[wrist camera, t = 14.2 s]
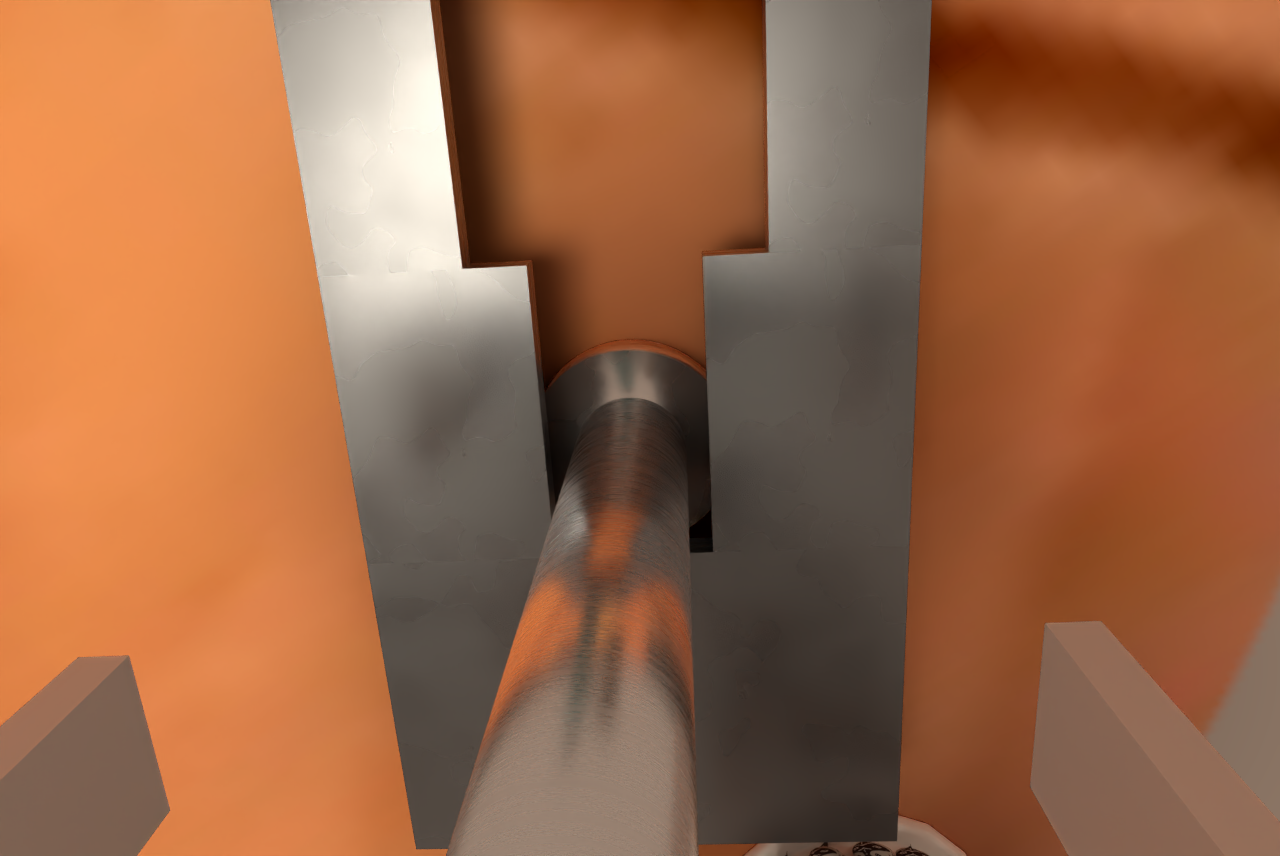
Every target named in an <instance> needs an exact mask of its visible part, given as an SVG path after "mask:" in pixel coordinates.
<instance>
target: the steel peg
mask: <svg viewBox="0 0 1280 856" xmlns="http://www.w3.org/2000/svg"><path fill="white" fill-rule="evenodd" d="M545 401H546V412H547V422H548V433H549V443H550V453H551V464H552V474H553V485H554V495H555V506H556V508H555V511H554V514H553V517H552V520H551V523H550V527H549V530H548V533H547V536H546V539H545V543H544V546H543V549H542V552H541V555H540V558H539V562H538V565H537V568H536V571H535V574H534V578H533V581H532V584H531V587H530V590H529V593H528V597H527V600H526V603H525V606H524V609H523V612H522V616H521V619H520V622H519V625H518V628H517V632H516V635H515V638H514V641H513V644H512V647H511V651H510V654H509V657H508V660H507V663H506V667H505V670H504V673H503V676H502V679H501V682H500V686H499V689H498V692H497V695H496V698H495V701H494V705H493V708H492V711H491V714H490V717H489V721H488V724H487V727H486V730H485V733H484V736H483V740H482V743H481V746H480V749H479V752H478V756H477V759H476V762H475V765H474V768H473V771H472V775H471V778H470V781H469V784H468V787H467V791H466V794H465V797H464V800H463V803H462V806H461V810H460V813H459V816H458V819H457V822H456V825H455V829H454V832H453V835H452V838H451V841H450V845H449V848H448V851H447V854H446V856H699V854H698V820H697V785H696V751H695V717H694V682H693V648H692V614H691V580H690V545H689V527H691V526H692V525H694V524H695V523H697V522H698V521H699V520H700V519H701V518H703V517H704V516H705V515H706V514H707V513H708V512H709V511H710V510H711V493H710V465H709V437H708V409H707V381H706V370H705V369H704V368H703V367H702V366H701V365H700V364H699V363H697V362H696V361H695V360H693V359H692V358H691V357H689V356H688V355H686V354H684V353H683V352H681V351H679V350H677V349H675V348H672V347H670V346H668V345H664V344H661V343H657V342H654V341H647V340H633V339H627V340H618V341H612V342H608V343H604V344H600V345H598V346H595V347H593V348H590V349H588V350H586V351H585V352H583V353H581V354H579V355H578V356H576V357H575V358H574V359H572V360H571V361H569V362H568V363H567V364H566V365H565V366H564V367H563V368H562V369H561V370H560V371H559V372H558V373H557V375H556V376H555V377H554V378H553V380H552V381H551V383H550V384H549V386H548V388H547V390H546V391H545Z"/></svg>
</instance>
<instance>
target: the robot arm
mask: <svg viewBox="0 0 1280 856" xmlns="http://www.w3.org/2000/svg"><path fill="white" fill-rule="evenodd" d="M1030 788H1031V789H1032V791H1033V793H1034V795H1035V797H1036V798H1037V800H1038V802H1039V804H1040V806H1041V807H1042V809H1043V811H1044V813H1045V815H1046V816H1047V818H1048V820H1049V822H1050V824H1051V825H1052V827H1053V829H1054V831H1055V833H1056V834H1057V836H1058V838H1059V840H1060V842H1061V843H1062V845H1063V847H1064V849H1065V851H1066V852H1067V854H1068V856H1280V822H1279V821H1278V819H1277V818H1276V817H1275V816H1274V815H1273V814H1272V813H1271V811H1270V810H1269V809H1268V808H1267V807H1266V806H1265V805H1264V804H1263V802H1262V801H1261V800H1260V799H1259V798H1258V797H1257V796H1256V795H1255V793H1254V792H1253V791H1252V790H1251V789H1250V788H1249V787H1248V786H1247V784H1246V783H1245V782H1244V781H1243V780H1242V779H1241V778H1240V777H1239V775H1238V774H1237V773H1236V772H1235V771H1234V770H1233V769H1232V768H1231V766H1229V764H1228V763H1227V762H1226V761H1225V760H1224V759H1223V757H1222V756H1221V755H1220V754H1219V753H1218V752H1217V751H1216V750H1215V749H1214V747H1213V746H1212V745H1211V744H1210V743H1209V742H1208V741H1207V739H1206V738H1205V737H1204V736H1203V735H1202V734H1201V733H1200V732H1199V730H1198V729H1197V728H1196V727H1195V726H1194V725H1193V724H1192V723H1191V722H1190V720H1189V719H1188V718H1187V717H1186V716H1185V715H1184V714H1183V713H1182V711H1181V710H1180V709H1179V708H1178V707H1177V706H1176V705H1175V704H1174V702H1173V701H1172V700H1171V699H1170V698H1169V697H1168V696H1167V695H1166V693H1165V692H1164V691H1163V690H1162V689H1161V688H1160V687H1159V686H1158V684H1157V683H1156V682H1155V681H1154V680H1153V679H1152V678H1151V677H1150V675H1149V674H1148V673H1147V672H1146V671H1145V670H1144V669H1143V668H1142V666H1141V665H1140V664H1139V663H1138V662H1137V661H1136V660H1135V659H1134V657H1133V656H1132V655H1131V654H1130V653H1129V652H1128V651H1127V650H1126V648H1125V647H1124V646H1123V645H1122V644H1121V643H1120V642H1119V641H1118V639H1117V638H1116V637H1115V636H1114V635H1113V634H1112V633H1111V632H1110V630H1109V629H1108V628H1107V627H1106V626H1105V625H1104V624H1103V623H1102V621H1087V622H1059V623H1045V628H1044V639H1043V650H1042V661H1041V672H1040V683H1039V694H1038V705H1037V716H1036V727H1035V738H1034V749H1033V760H1032V771H1031V782H1030ZM169 811H170V808H169V804H168V800H167V797H166V793H165V789H164V785H163V782H162V778H161V774H160V770H159V767H158V763H157V759H156V755H155V751H154V748H153V744H152V740H151V736H150V733H149V729H148V725H147V721H146V718H145V714H144V710H143V706H142V703H141V699H140V695H139V691H138V688H137V684H136V680H135V676H134V672H133V669H132V665H131V661H130V657H129V656H102V657H78V658H77V659H76V660H75V661H73V662H72V663H71V664H70V665H69V666H68V667H67V668H66V669H64V670H63V671H62V672H61V673H60V674H59V675H58V676H57V677H55V678H54V679H53V680H52V681H51V682H50V683H49V684H48V685H46V686H45V687H44V688H43V689H42V690H41V691H40V692H39V693H37V694H36V695H35V696H34V697H33V698H32V699H31V700H30V701H28V702H27V703H26V704H25V705H24V706H23V707H22V708H21V709H19V710H18V711H17V712H16V713H15V714H14V715H13V716H12V717H10V718H9V719H8V720H7V721H6V722H5V723H4V724H3V725H1V726H0V856H137V855H138V853H139V852H140V851H141V849H142V848H143V847H144V845H145V844H146V843H147V841H148V840H149V838H150V837H151V836H152V834H153V833H154V832H155V830H156V829H157V828H158V826H159V825H160V824H161V822H162V821H163V819H164V818H165V817H166V815H167V814H168V813H169Z"/></svg>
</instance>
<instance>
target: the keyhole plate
mask: <svg viewBox="0 0 1280 856" xmlns="http://www.w3.org/2000/svg"><path fill="white" fill-rule="evenodd" d="M270 2H271V7H272V13H273V19H274V25H275V31H276V36H277V42H278V48H279V54H280V60H281V66H282V71H283V77H284V83H285V89H286V95H287V100H288V106H289V112H290V118H291V124H292V129H293V135H294V141H295V147H296V153H297V159H298V164H299V170H300V176H301V182H302V188H303V193H304V199H305V205H306V211H307V217H308V222H309V228H310V234H311V240H312V246H313V252H314V257H315V263H316V269H317V275H318V281H319V286H320V292H321V298H322V304H323V310H324V315H325V321H326V327H327V333H328V339H329V345H330V350H331V356H332V362H333V368H334V374H335V379H336V385H337V391H338V397H339V403H340V408H341V414H342V420H343V426H344V432H345V438H346V443H347V449H348V455H349V461H350V467H351V472H352V478H353V484H354V490H355V496H356V501H357V507H358V513H359V519H360V525H361V531H362V536H363V542H364V548H365V554H366V560H367V565H368V571H369V577H370V583H371V589H372V594H373V600H374V606H375V612H376V618H377V624H378V629H379V635H380V641H381V647H382V653H383V658H384V664H385V670H386V676H387V682H388V687H389V693H390V699H391V705H392V711H393V717H394V722H395V728H396V734H397V740H398V746H399V751H400V757H401V763H402V769H403V775H404V780H405V786H406V792H407V798H408V804H409V810H410V815H411V821H412V827H413V833H414V839H415V844H416V849H448V848H449V845H450V841H451V838H452V835H453V832H454V829H455V825H456V822H457V819H458V816H459V813H460V810H461V806H462V803H463V800H464V797H465V794H466V791H467V787H468V784H469V781H470V778H471V775H472V771H473V768H474V765H475V762H476V759H477V756H478V752H479V749H480V746H481V743H482V740H483V736H484V733H485V730H486V727H487V724H488V721H489V717H490V714H491V711H492V708H493V705H494V701H495V698H496V695H497V692H498V689H499V686H500V682H501V679H502V676H503V673H504V670H505V667H506V663H507V660H508V657H509V654H510V651H511V647H512V644H513V641H514V638H515V635H516V632H517V628H518V625H519V622H520V619H521V616H522V612H523V609H524V606H525V603H526V600H527V597H528V593H529V590H530V587H531V584H532V581H533V578H534V574H535V571H536V568H537V565H538V562H539V558H540V555H541V552H542V549H543V546H544V543H545V539H546V536H547V533H548V530H549V527H550V523H551V520H552V517H553V514H554V511H555V508H556V506H555V495H554V485H553V474H552V464H551V453H550V443H549V433H548V422H547V412H546V401H545V391H544V380H543V370H542V359H541V349H540V339H539V328H538V318H537V307H536V297H535V286H534V276H533V265H532V260H526V261H507V262H489V263H470V256H469V248H468V239H467V231H466V222H465V214H464V205H463V197H462V188H461V180H460V171H459V163H458V154H457V146H456V137H455V129H454V120H453V112H452V103H451V95H450V86H449V78H448V69H447V61H446V52H445V44H444V35H443V27H442V18H441V10H440V1H439V0H270ZM931 5H932V0H762V40H763V114H764V188H765V248H752V249H733V250H714V251H702V270H703V297H704V325H705V353H706V381H707V409H708V437H709V465H710V493H711V521H712V538H689V545H690V580H691V614H692V648H693V682H694V717H695V751H696V785H697V820H698V845H699V844H759V843H818V842H878V841H897V832H898V807H899V783H900V759H901V734H902V710H903V686H904V661H905V637H906V613H907V588H908V564H909V540H910V516H911V491H912V467H913V443H914V418H915V394H916V370H917V345H918V321H919V297H920V272H921V248H922V224H923V199H924V175H925V151H926V127H927V102H928V78H929V54H930V29H931Z"/></svg>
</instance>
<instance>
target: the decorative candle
mask: <svg viewBox="0 0 1280 856" xmlns="http://www.w3.org/2000/svg"><path fill="white" fill-rule="evenodd" d="M744 856H966V854H965V852H964V851H962V850H961V849H960V848H958V847H957V846H956V845H955V844H953V843H952V842H951V841H949V840H948V839H947V838H945V837H944V836H943V835H942V834H940V833H939V832H938V831H936V830H935V829H934V828H933V827H931V826H930V825H929V824H927V823H923V822H920V821H917V820H913V819H910V818H907V817H903V816H900V815H898V832H897V841H878V842H818V843H759V844H756V845H755V846H754V847H753V848H752V849H751V850H749V851H748V852H747V853H746V854H745V855H744Z"/></svg>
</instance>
